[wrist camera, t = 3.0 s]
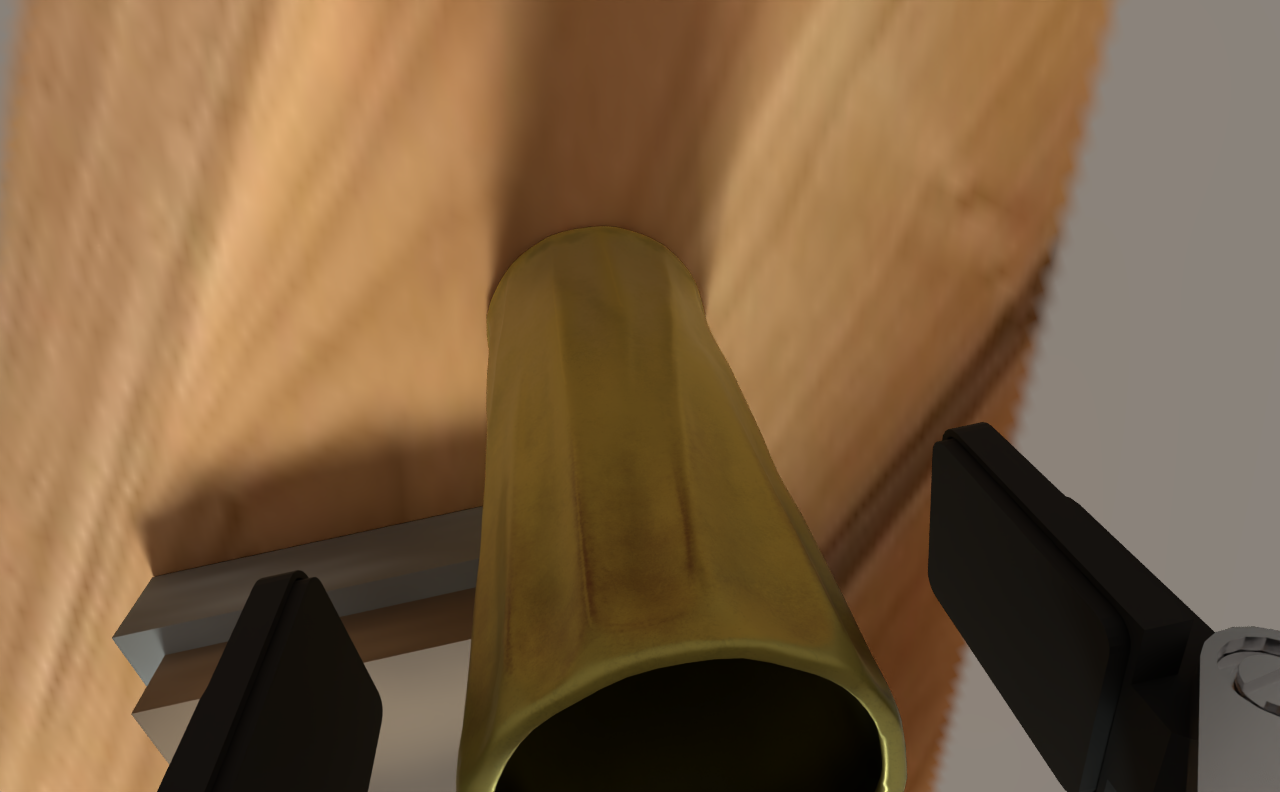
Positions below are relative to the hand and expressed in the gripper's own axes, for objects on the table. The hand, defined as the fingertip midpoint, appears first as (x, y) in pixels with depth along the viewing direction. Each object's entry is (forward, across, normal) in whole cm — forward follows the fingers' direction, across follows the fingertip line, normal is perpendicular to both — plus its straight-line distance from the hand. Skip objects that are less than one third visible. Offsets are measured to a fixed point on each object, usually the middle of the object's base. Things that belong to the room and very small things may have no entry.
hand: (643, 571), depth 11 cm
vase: (+11, 0, +1) cm, 11 cm away
